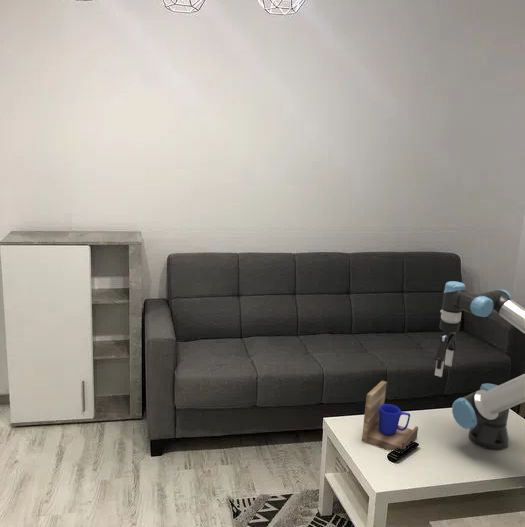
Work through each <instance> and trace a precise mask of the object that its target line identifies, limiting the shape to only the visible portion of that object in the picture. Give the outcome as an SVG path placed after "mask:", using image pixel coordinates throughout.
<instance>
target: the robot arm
mask: <svg viewBox="0 0 525 527" xmlns="http://www.w3.org/2000/svg"><path fill="white" fill-rule="evenodd" d="M462 311H464V312H467V313H470V314H473V315H474V316H477V317H483V318H486V317H488V316H489V315H491V313H492V312H494V313H496V314H497V315H499V316H500V317H501V318H503V319H504V320H506V321H507V322H508V323H509V324H511V325H512V326H514V327H515V328H516V329H518V330H519V331H520V332H521V333H523V334H525V307H523V306H521V305H520V304H518V303H517V302H515V301H514V300H513V298H512V295H511V294H510V292H509V291H508V290H506V289H493V290H490V291H484V292H479V293H475V292H470V291H468V290H466V284H465V283H463V282H460V281H454V280H452V281H451V280H450V281H447V282H446V283H445V286H444V291H443V298H442V307H441V309H440V311H439V312H440V321H439V330H441V331H442V332H443V334H442V333H441V335H440V338H439V344H438V348H437V351H436V356H435V357H434V360H435V361H436V363H435V370H434V376H437V377H439V378H442V377H443V371H444V365H445V366H448V367H452V364H453V359H454V351H457V347H456V346H457V344H456V339H457V338H456V336H457V333H458V332H459V331H460V325H461V321H462V320H461V318H462ZM522 403H523V404H524V403H525V373H523V374H521V375H519V376H517V377H515V378H512V379H510V380H508V381H506V382H504V383H501V384H499V385H497V384H495V383H494V384H493V383H482V384H481V385H480V388H479V390H476V391H475V392H472V393H470V394H468V395H466V396H463V397H459V398H457V399H455V400H454V402H453V403H452V406H451V407H452V408H451V412H452V416H453V418H454V420H455V422H456V424H458V426H460V427H461V428H463V429H465V430H468V439H469V440H470V441H471V442H472V443H473V444H475V445H477V446H479V447H480V448H484V449H488V450H492V451H493V450H495V451H498V450H499V451H500V450H504V449H507V447H508V446H509V439H510V438H509V434H508V428H507V425H508V424H507V423H508V418H509V412H510V409H511V408H513V407H516V406H517V405H520V404H522Z"/></svg>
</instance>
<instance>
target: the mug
mask: <svg viewBox="0 0 525 527" xmlns="http://www.w3.org/2000/svg"><path fill="white" fill-rule="evenodd" d="M403 415H405V416H407V420H406V424H405V426H403V427H404V428H399V427H398V425H399V424H400V423H399V422H400V419H401V416H403ZM410 418H411V413H410V412H404V411H401V408H399V406H397V405H394V404H389V403H384V404H383V405H381V406H380V407H379V430H380V432H381V433H383V434H386V435H393V434H395V432H396V430H397V429H398V430H400V431H404V430H405V429H406V428H408V427H409V423H410Z"/></svg>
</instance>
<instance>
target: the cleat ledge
mask: <svg viewBox="0 0 525 527" xmlns="http://www.w3.org/2000/svg"><path fill="white" fill-rule="evenodd" d="M398 427H399V428H404V427H405V426H402V425H399V424H398ZM418 431H419V426H415V427H414V428H413V429H411V428H408V427H407V428H406V429H405V430H404V431H400V430H398V429H397V430H396V432H395V434H393V435H386V434H383V433H381V432H380V430H379V424H378V425H377V426H376V427H375V428H374V429H373V430H372V431H371V432H370V433H369V434H368V435H367V441H366V442H365V443H366V444H369V445H373V446H375V447H377V446H378V448H381V449H383V448H384V450H386V449H388V450H387V451H389V450H391V451H390V452H392V450H395V449H397V448H400V449H405V448H406V446H407V445H408V444H409V443H410V442H411V441H414V442H415V441H416V440H417V439H418V433H419V432H418Z"/></svg>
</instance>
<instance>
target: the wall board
mask: <svg viewBox="0 0 525 527" xmlns="http://www.w3.org/2000/svg"><path fill="white" fill-rule="evenodd" d="M387 384H388V382H387V381H385V380H381V381H380V382H379V383H377V385H376V386H374V387H373V388H372V389H371V390H370V391H369V392H368V393H367V394H366V396H365V397H366V399H365V408H364V416H363V424H362V435H361V442H363V443H366V441H367V435H368V434H369V433H370V432H371V431H372V430H373V429H374V428H375V427H376V426H377V425H378V424H379V407H380V406H381V405H383V404H385V401H386V393H387V392H386V390H387Z"/></svg>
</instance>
